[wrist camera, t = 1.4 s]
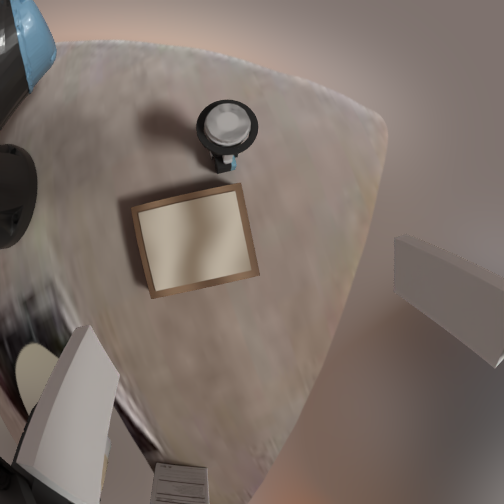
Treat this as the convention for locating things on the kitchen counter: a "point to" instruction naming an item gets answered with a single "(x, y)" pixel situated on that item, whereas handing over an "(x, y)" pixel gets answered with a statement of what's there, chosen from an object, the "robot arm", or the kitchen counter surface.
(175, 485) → the supplement box
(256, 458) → the kitchen counter surface
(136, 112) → the kitchen counter surface
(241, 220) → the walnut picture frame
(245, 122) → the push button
